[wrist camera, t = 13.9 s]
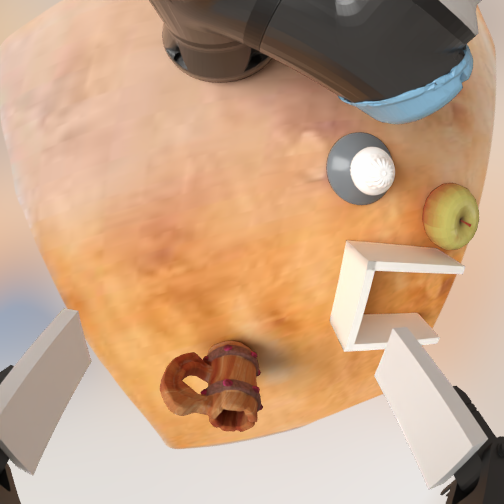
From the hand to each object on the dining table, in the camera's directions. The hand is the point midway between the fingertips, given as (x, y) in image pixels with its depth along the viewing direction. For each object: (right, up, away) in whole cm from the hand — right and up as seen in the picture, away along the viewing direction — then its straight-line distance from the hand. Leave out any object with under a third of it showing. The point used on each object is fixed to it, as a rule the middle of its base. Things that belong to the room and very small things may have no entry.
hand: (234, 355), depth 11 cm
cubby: (+22, -1, +32) cm, 39 cm away
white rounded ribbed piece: (+16, +15, +25) cm, 33 cm away
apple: (+30, +11, +28) cm, 42 cm away
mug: (-5, -12, +35) cm, 37 cm away
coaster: (+15, +15, +26) cm, 34 cm away
